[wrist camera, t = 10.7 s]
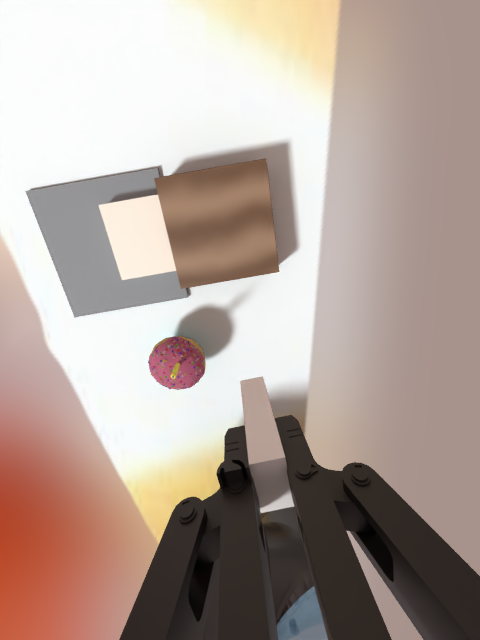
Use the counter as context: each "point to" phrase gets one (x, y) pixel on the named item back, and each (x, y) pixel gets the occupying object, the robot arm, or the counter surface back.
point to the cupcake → (177, 362)
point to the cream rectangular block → (138, 237)
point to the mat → (96, 244)
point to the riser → (219, 223)
